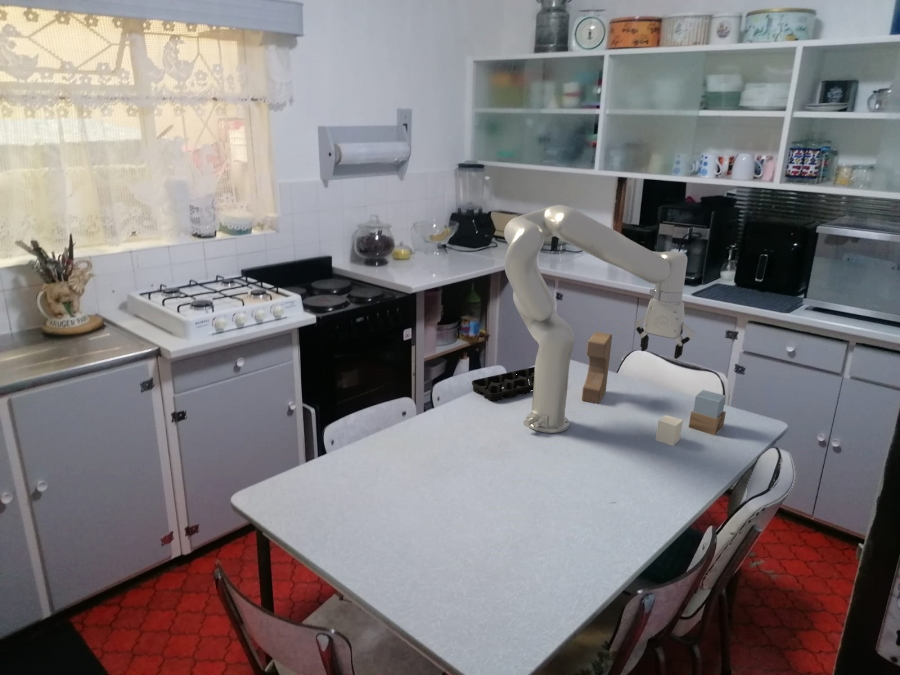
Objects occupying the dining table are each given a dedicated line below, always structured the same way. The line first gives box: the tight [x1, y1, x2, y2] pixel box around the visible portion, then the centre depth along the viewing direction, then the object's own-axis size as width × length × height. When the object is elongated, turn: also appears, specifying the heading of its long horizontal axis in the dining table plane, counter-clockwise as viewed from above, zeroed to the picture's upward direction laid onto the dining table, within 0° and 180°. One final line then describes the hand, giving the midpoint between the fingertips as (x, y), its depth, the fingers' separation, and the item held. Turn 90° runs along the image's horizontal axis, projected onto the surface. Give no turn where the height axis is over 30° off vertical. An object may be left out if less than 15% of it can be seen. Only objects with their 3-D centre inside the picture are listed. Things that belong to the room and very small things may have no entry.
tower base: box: [688, 410, 726, 436], centre depth 189 cm, size 8×8×5 cm
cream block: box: [655, 414, 684, 447], centre depth 180 cm, size 5×5×6 cm
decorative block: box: [581, 331, 613, 405], centre depth 206 cm, size 11×6×20 cm, turn 155°
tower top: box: [692, 389, 726, 418], centre depth 188 cm, size 6×6×5 cm
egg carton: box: [471, 366, 535, 403], centre depth 213 cm, size 18×30×4 cm, turn 135°
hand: (660, 353), depth 187 cm, fingers open, 9 cm apart
